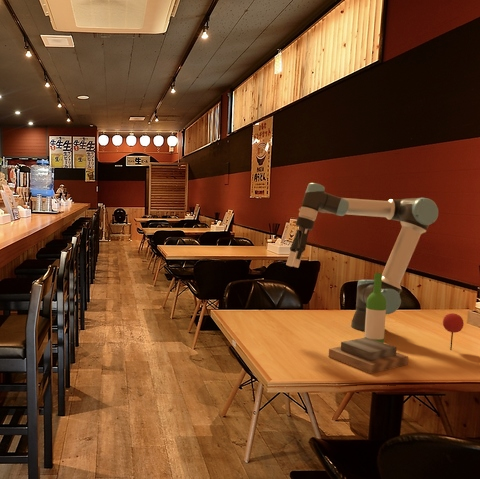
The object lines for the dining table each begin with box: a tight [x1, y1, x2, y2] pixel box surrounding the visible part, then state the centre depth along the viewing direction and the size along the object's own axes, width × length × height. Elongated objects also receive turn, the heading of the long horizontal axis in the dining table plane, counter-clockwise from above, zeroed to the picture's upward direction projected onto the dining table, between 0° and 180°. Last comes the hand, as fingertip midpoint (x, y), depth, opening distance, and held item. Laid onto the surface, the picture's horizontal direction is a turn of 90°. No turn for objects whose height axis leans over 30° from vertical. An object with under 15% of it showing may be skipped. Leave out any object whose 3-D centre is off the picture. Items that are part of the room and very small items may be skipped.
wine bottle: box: [363, 272, 387, 343], centre depth 191 cm, size 8×8×30 cm
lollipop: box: [442, 313, 465, 351], centre depth 190 cm, size 8×8×15 cm
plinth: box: [328, 337, 409, 374], centre depth 171 cm, size 20×20×6 cm
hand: (291, 266), depth 197 cm, fingers open, 13 cm apart
